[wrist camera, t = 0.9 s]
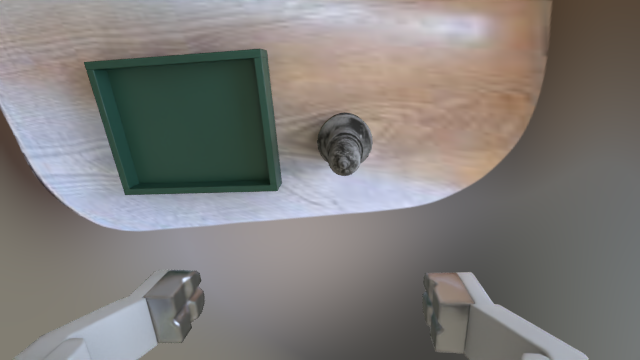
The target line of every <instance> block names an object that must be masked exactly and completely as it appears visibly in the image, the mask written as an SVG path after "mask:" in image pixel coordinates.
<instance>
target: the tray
mask: <svg viewBox="0 0 640 360" xmlns="http://www.w3.org/2000/svg"><path fill="white" fill-rule="evenodd" d="M84 64H85V68H86V70H87V74H88V77H89V80H90V83H91V86H92V90H93V93H94V96H95V99H96V103H97V106H98V109H99V112H100V115H101V119H102V122H103V125H104V128H105V132H106V135H107V138H108V141H109V144H110V148H111V151H112V154H113V157H114V160H115V164H116V167H117V170H118V173H119V177H120V180H121V183H122V186H123V190H124V193H125V195H144V194H183V193H221V192H259V191H278V189H279V187H280V186H281V184H282V181H281V172H280V163H279V154H278V145H277V137H276V128H275V119H274V110H273V101H272V93H271V84H270V75H269V66H268V57H267V51H266V50H263V49H251V50H238V51H225V52H212V53H199V54H185V55H172V56H159V57H146V58H133V59H120V60H106V61H93V62H84Z"/></svg>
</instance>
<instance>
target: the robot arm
mask: <svg viewBox="0 0 640 360" xmlns="http://www.w3.org/2000/svg"><path fill="white" fill-rule="evenodd" d="M200 282H201V278H200V273H199V272H197V271H188V270H158V271H155V272H154V273H153V274H152V275H151V276H150V277H148V278H147V279H146V280H145V281H144V282H143V283H142V284H141V285H140V286H139V287H138V288H137V289H136V290H135V291H134V292H133V293H132V294H131V295H129V297H127V298H121V299H119V300H117V301H115V302H113V303H111V304H108V305H106V306H104V307H102V308H100V309H98V310H96V311H93V312H91V313H89V314H87V315H85V316H83V317H81V318H78V319H76V320H74V321H72V322H70V323H68V324H66V325H63V326H61V327H59V328H57V329H55V330H53V331H50V332H48V333H46V334H44V335H42V336H41V337H39V338H38V339H37V340H36V341H34V342H33V343H32V344H31V345H29V346H28V347H27V348H26V349H25V350H24V351H22V352H21V353H20V354H18V355H17V356H16V357H15V358H13V359H12V360H138V359H139V358H141V357H142V356H143V355H145V354H146V353H147V352H148V351H150V350H151V349H152V348H153V347H155V346H156V345H157V344H158V343H182V342H183V341H184V339H185V337H186V336H187V334H188V333H189V331H190V330H191V328H192V326H191V322H193V321H194V320H196V319H197V318H198V317H199V316H200V314H201V312H202V310H203V306H204V291H203V290H202V289H201V288H200V287H199V284H200ZM424 286H425V289H426V291H425V293H424V294H423V302H422V303H423V313H424V317H425V321H426V323H427V325H429V326H430V336H431V339H432V342H433V345H434V347H435V350H436V352H449V353H464V354H465V356H466V357H467V358H468V359H469V360H589V358H588V357H587V356H586V355H585V354H584V353H582V352H580V351H578V350H576V349H575V348H573V347H571V346H570V345H568V344H566V343H564V342H562V341H561V340H559V339H558V338H556V337H554V336H552V335H551V334H549V333H547V332H545V331H544V330H542V329H540V328H539V327H537V326H535V325H533V324H532V323H530V322H528V321H526V320H525V319H523V318H521V317H520V316H518V315H516V314H514V313H513V312H511V311H509V310H507V309H506V308H504V307H502V306H500V305H495V304H493V302H492V301H491V299H490V298H489V296H488V295H487V293H486V292H485V291H484V289H483V288H482V286H481V285H480V283H479V282H478V280H477V279H476V277H475V276H474V275H473V273H471V272H459V273H425V275H424Z"/></svg>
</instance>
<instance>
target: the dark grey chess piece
mask: <svg viewBox="0 0 640 360" xmlns="http://www.w3.org/2000/svg"><path fill="white" fill-rule="evenodd" d="M317 143H318V149H319V152H320V154H321V156H322V157H323V158H324V160H325V161H326V162H328V163H329V166H330V168H331V169H332V171H333V172H335V173H336V174H338V175H341V176H348V175H350V174H352V173H354V172H355V171H356V170H357V169H358V167H359V165H360V164H361V163H362V162H363V161H364V160H365V159H366V158H367V157H368V155H369V153H370V151H371V148H372V144H373V142H372V134H371V131H370V129H369V127H368V126H367V124H366V123H365V122H364V121H362V120H361V119H360V118H359V117H358V116H356V115H354V114H350V113H340V114H337V115H335V116H333V117H332V118H330V119H329V120H328V121H327V122H326V123H325V124H324V125H323V126H322V127H321V130H320V132H319V134H318V140H317Z"/></svg>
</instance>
